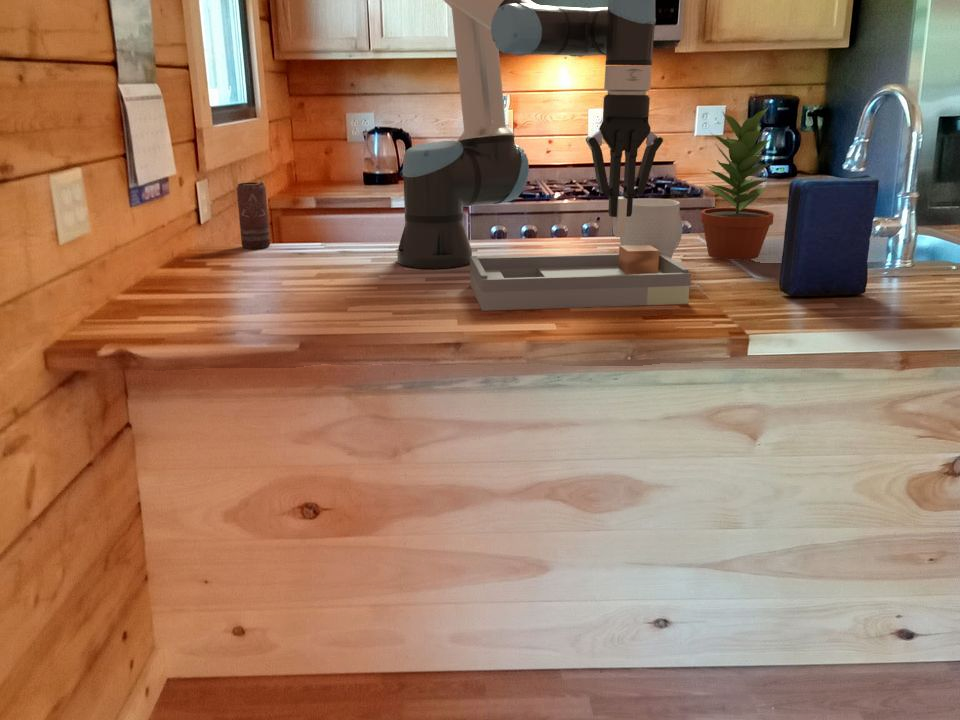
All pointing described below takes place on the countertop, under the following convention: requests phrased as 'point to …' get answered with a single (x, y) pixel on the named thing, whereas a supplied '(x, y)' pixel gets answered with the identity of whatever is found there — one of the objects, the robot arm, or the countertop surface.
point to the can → (253, 215)
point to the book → (828, 236)
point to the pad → (668, 295)
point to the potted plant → (738, 197)
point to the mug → (654, 225)
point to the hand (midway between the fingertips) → (618, 235)
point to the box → (565, 281)
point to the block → (638, 259)
